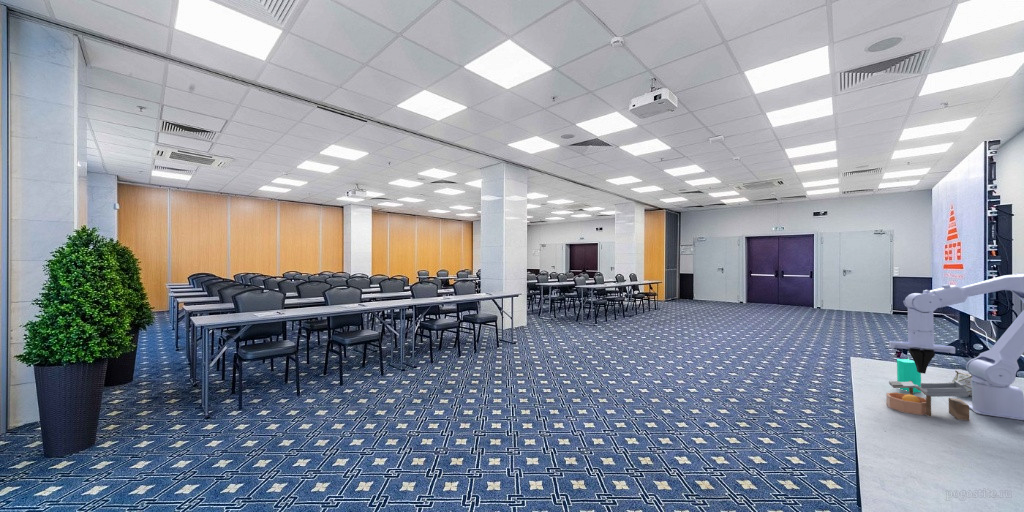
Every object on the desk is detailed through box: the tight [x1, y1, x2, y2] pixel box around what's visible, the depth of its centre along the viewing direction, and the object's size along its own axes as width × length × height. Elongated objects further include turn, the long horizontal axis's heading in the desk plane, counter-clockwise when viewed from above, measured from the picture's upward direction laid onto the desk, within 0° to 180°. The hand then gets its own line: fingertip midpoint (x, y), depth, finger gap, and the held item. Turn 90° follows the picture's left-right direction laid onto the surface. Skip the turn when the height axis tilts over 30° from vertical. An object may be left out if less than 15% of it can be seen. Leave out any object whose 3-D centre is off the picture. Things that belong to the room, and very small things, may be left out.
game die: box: [948, 370, 972, 396], centre depth 130 cm, size 9×8×10 cm
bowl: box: [885, 392, 927, 416], centre depth 119 cm, size 9×9×4 cm
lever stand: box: [908, 381, 970, 421], centre depth 118 cm, size 9×17×6 cm, turn 146°
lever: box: [888, 380, 969, 398], centre depth 120 cm, size 14×15×3 cm
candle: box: [896, 356, 922, 393], centre depth 137 cm, size 6×6×12 cm
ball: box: [902, 394, 920, 403], centre depth 119 cm, size 4×4×4 cm
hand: (921, 372), depth 122 cm, fingers closed
